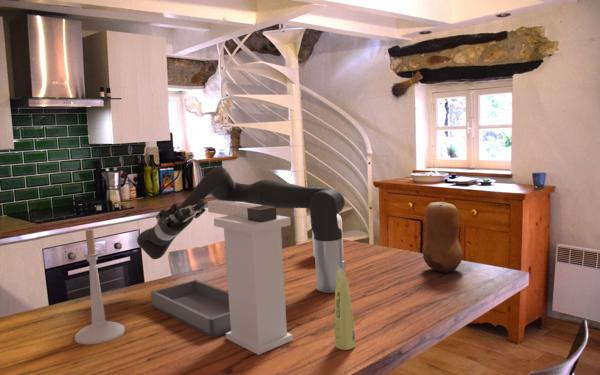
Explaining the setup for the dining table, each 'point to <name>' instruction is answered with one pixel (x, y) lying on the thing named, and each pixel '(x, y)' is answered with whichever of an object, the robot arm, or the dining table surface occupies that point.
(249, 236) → the stand
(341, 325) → the tube
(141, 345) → the dining table surface
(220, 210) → the plug rod
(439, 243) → the butternut squash
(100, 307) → the candlestick
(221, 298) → the bin
